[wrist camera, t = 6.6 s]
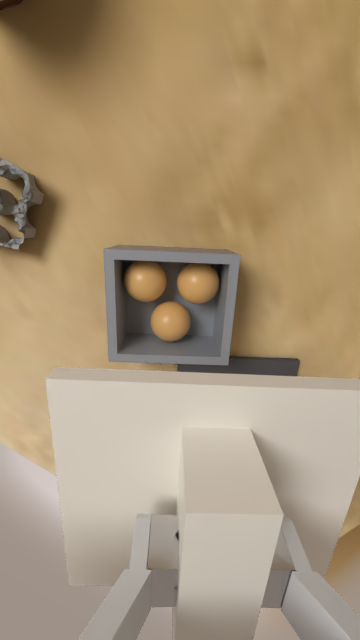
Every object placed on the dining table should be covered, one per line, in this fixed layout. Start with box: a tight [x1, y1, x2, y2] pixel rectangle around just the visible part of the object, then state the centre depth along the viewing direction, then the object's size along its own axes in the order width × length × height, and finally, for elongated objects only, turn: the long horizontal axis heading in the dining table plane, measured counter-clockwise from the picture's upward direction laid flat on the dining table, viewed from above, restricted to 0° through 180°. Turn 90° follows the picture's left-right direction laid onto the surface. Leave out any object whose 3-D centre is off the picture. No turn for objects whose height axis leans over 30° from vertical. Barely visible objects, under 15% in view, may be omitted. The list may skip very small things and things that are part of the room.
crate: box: [104, 245, 241, 365], centre depth 26 cm, size 11×10×6 cm
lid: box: [46, 367, 360, 640], centre depth 10 cm, size 11×10×5 cm
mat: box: [177, 357, 300, 376], centre depth 33 cm, size 14×12×1 cm
